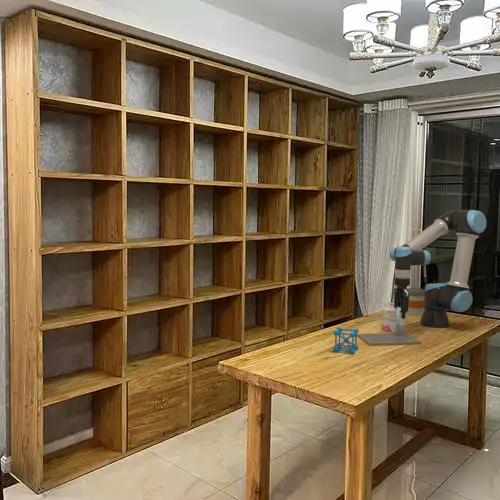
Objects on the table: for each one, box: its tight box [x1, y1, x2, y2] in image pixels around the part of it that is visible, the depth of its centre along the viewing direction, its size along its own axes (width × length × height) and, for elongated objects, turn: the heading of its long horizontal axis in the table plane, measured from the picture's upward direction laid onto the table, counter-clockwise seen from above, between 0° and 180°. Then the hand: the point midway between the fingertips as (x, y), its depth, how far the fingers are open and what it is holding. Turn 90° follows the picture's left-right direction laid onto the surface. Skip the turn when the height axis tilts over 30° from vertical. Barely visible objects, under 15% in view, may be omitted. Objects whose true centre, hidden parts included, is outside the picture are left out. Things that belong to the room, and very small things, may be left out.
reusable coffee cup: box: [406, 287, 425, 317], centre depth 320 cm, size 13×13×15 cm
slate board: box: [357, 331, 423, 347], centre depth 262 cm, size 26×18×1 cm
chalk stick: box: [396, 307, 405, 333], centre depth 266 cm, size 4×4×12 cm
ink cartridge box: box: [381, 302, 398, 333], centre depth 280 cm, size 9×5×15 cm, turn 84°
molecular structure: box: [332, 326, 360, 355], centre depth 242 cm, size 10×10×10 cm
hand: (400, 323), depth 266 cm, fingers closed on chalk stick, 4 cm apart
